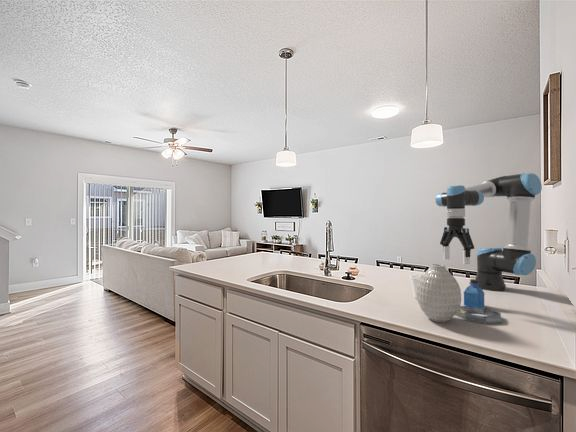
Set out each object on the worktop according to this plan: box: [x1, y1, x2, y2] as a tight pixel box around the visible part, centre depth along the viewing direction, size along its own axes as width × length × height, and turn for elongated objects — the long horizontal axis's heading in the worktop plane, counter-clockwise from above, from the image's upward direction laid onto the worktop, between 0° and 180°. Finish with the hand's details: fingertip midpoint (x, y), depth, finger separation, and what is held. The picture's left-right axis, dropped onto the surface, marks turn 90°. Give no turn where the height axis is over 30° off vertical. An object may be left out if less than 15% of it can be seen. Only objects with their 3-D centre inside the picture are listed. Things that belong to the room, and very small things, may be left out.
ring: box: [454, 305, 502, 325], centre depth 117 cm, size 16×16×3 cm
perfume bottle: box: [463, 278, 485, 308], centre depth 131 cm, size 6×6×12 cm
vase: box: [416, 263, 462, 323], centre depth 114 cm, size 16×16×22 cm
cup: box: [409, 274, 422, 300], centre depth 142 cm, size 10×10×11 cm
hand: (456, 261), depth 135 cm, fingers open, 13 cm apart
